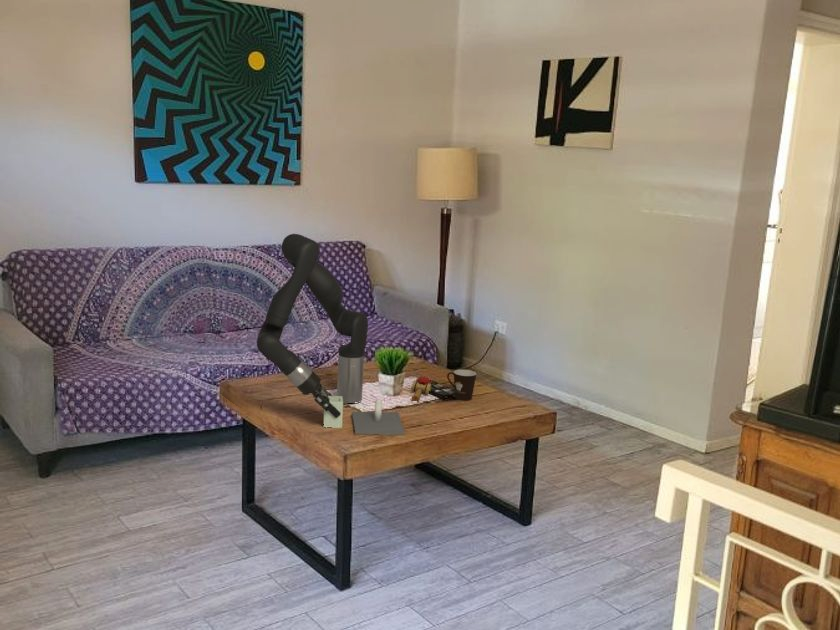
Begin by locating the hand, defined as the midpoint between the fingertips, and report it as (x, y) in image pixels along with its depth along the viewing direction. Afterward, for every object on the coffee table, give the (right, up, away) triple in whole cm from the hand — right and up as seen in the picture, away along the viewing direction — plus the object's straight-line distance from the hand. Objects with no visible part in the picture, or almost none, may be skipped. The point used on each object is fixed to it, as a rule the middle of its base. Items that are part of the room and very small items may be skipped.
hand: (338, 412), depth 266 cm
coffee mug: (+43, +1, +39) cm, 58 cm away
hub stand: (+13, -5, +3) cm, 14 cm away
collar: (-2, -4, +1) cm, 5 cm away
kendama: (+27, +1, +37) cm, 46 cm away
